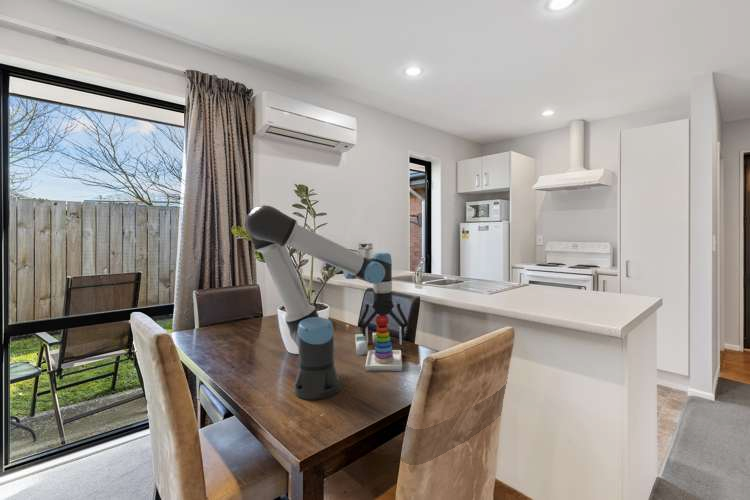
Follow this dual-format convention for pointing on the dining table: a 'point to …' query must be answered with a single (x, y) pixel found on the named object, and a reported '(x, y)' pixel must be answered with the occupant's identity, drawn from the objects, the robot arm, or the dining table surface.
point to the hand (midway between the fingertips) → (383, 343)
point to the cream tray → (375, 366)
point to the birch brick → (374, 337)
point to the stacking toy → (383, 341)
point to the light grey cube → (361, 348)
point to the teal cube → (359, 337)
